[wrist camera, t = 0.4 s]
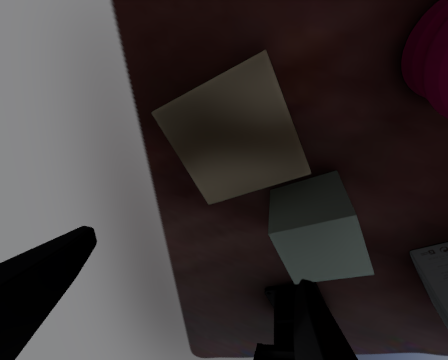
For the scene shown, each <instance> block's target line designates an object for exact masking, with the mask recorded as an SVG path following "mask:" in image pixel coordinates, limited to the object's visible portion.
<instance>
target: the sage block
mask: <svg viewBox="0 0 448 360" xmlns="http://www.w3.org/2000/svg"><path fill="white" fill-rule="evenodd" d="M268 235H269V237H270V239H271V240H272V242H273V244H274V246H275V248H276V250H277V252H278V254H279V256H280V258H281V259H282V261H283V263H284V265H285V267H286V269H287V271H288V273H289V275H290V277H291V278H292V280H293V282H294V284H299V282H300V280H301V279H306V280H310V281H312V282H318V281H326V280H334V279H342V278H351V277H359V276H367V275H374V272H373V269H372V265H371V262H370V259H369V255H368V252H367V249H366V245H365V242H364V239H363V235H362V232H361V229H360V225H359V222H358V219H357V215H356V213H355V211H354V208H353V206H352V204H351V201H350V199H349V197H348V195H347V192H346V190H345V188H344V185H343V183H342V181H341V179H340V176H339V174H338V172H337V170H336V171H333V172H330V173H326V174H323V175H320V176H316V177H313V178H309V179H306V180H303V181H299V182H296V183H292V184H289V185H286V186H282V187H279V188H276V189H272V190H270V207H269V228H268Z"/></svg>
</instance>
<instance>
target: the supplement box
mask: <svg viewBox="0 0 448 360" xmlns="http://www.w3.org/2000/svg"><path fill="white" fill-rule="evenodd" d="M410 256H411V258H412V261H413V263H414V265H415V268H416V270H417V272H418V274H419V276H420V278H421V280H422V282H423V284H424V287H425V289H426V291H427V293H428V295H429V297H430V299H431V301H432V303H433V305H434V307H435V308H436V310H437V312H438V314H439V315H440V317H441V319H442V320H443V322H444V324H445V326H446V327H447V329H448V242H446V243H442V244H438V245H433V246H429V247H425V248H421V249H416V250H412V251H410Z"/></svg>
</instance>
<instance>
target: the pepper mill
mask: <svg viewBox="0 0 448 360" xmlns="http://www.w3.org/2000/svg"><path fill="white" fill-rule="evenodd" d="M401 71H402V75H403V78H404V81H405V82H406V84H407V86H408V87H409V88H410V89H411V90H412V91H414V92H415V93H416V94H418V95H420V96H422V97H424V98H427V100H428V101H429V103H430V104H431V105H432V107H433V108H434V109H435V110H436V111H437V112H438V113H439V114H441V115H442V116H444V117H446V118H447V119H448V0H439V1H438V2H437V3H435V4H434V5H433V6H432V7H431V8H430V9H429V10H428V11H427V12H426V13H425V14H424V15H423V16H422V17H421V19H420V20H419V21H418V23H417V24H416V25H415V27H414V28H413V30H412V31H411V33H410V35H409V37H408V39H407V41H406V44H405V47H404V50H403V53H402V60H401Z"/></svg>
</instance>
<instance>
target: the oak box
mask: <svg viewBox="0 0 448 360" xmlns="http://www.w3.org/2000/svg"><path fill="white" fill-rule="evenodd" d="M151 113H152V115H153V117H154V118H155V120H156V121H157V123H158V125H159V126H160V128H161V129H162V131H163V133H164V134H165V136H166V137H167V139H168V141H169V142H170V144H171V145H172V147H173V149H174V150H175V152H176V153H177V155H178V157H179V158H180V160H181V161H182V163H183V164H184V166H185V168H186V169H187V171H188V172H189V174H190V176H191V177H192V179H193V180H194V182H195V184H196V185H197V187H198V188H199V190H200V192H201V193H202V195H203V196H204V198H205V200H206V201H207V203H208V204H209V205H210V204H213V203H217V202H220V201H223V200H227V199H230V198H233V197H236V196H240V195H243V194H246V193H250V192H253V191H256V190H260V189H263V188H266V187H270V186H273V185H276V184H279V183H283V182H286V181H289V180H293V179H296V178H299V177H303V176H306V175H309V174H311V170H310V167H309V165H308V162H307V159H306V157H305V154H304V151H303V148H302V146H301V143H300V140H299V138H298V135H297V132H296V129H295V127H294V124H293V121H292V119H291V116H290V113H289V110H288V108H287V105H286V102H285V100H284V97H283V94H282V91H281V89H280V86H279V83H278V81H277V78H276V75H275V72H274V70H273V67H272V64H271V62H270V59H269V56H268V53H267V51H266V50H264V51H262V52H260V53H259V54H257V55H255V56H253V57H251V58H249V59H248V60H246V61H244V62H242V63H240V64H238V65H237V66H235V67H233V68H231V69H229V70H227V71H226V72H224V73H222V74H220V75H218V76H216V77H215V78H213V79H211V80H209V81H207V82H206V83H204V84H202V85H200V86H198V87H196V88H195V89H193V90H191V91H189V92H187V93H185V94H184V95H182V96H180V97H178V98H176V99H174V100H173V101H171V102H169V103H167V104H165V105H163V106H162V107H160V108H158V109H156V110H154V111H153V112H151Z"/></svg>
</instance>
